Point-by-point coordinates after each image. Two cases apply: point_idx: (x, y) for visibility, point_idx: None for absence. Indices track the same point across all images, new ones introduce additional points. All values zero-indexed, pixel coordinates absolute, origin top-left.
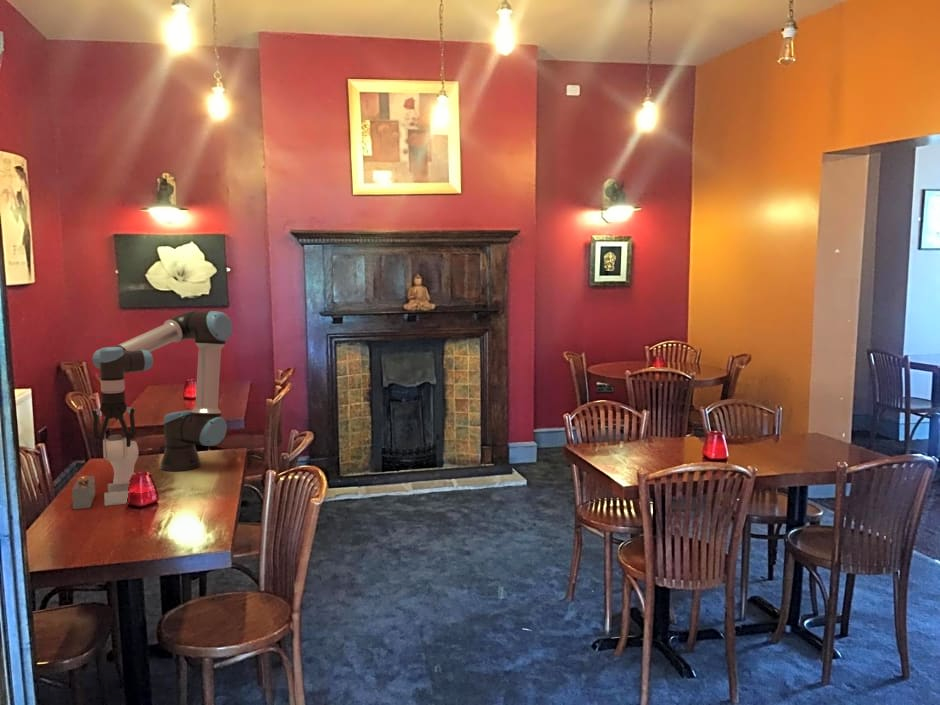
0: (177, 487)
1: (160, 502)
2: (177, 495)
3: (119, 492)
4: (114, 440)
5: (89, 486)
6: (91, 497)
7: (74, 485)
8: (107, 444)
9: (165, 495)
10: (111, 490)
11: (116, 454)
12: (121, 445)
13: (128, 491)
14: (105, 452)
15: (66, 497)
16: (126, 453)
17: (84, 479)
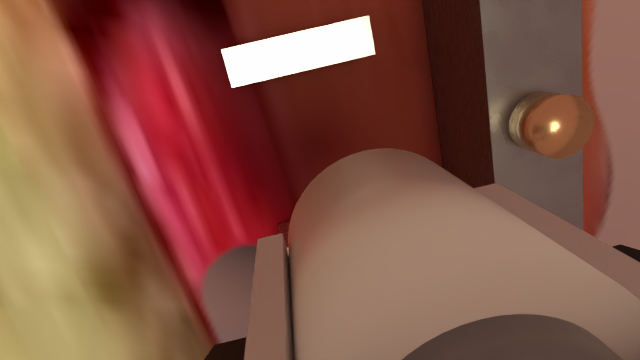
0: (88, 312)
1: (56, 43)
2: (18, 173)
3: (284, 45)
4: (480, 324)
5: (479, 11)
6: (445, 84)
7: (579, 48)
8: (569, 252)
9: (89, 180)
10: None
11: (360, 177)
12: (316, 287)
13: (233, 62)
14: (516, 212)
15: None
16: (259, 258)
17: (543, 98)
